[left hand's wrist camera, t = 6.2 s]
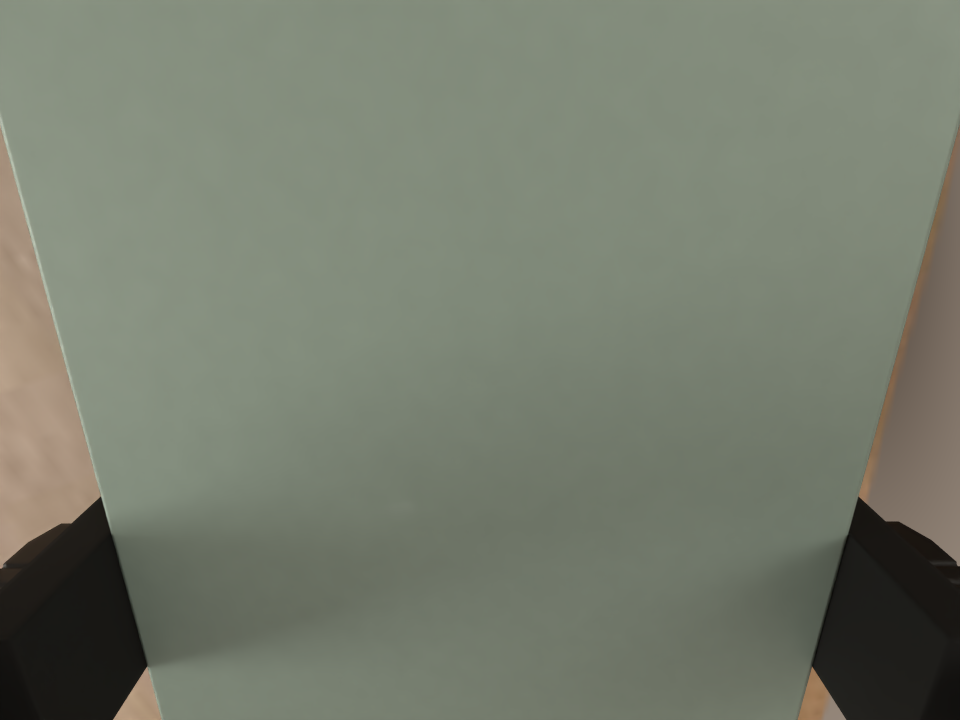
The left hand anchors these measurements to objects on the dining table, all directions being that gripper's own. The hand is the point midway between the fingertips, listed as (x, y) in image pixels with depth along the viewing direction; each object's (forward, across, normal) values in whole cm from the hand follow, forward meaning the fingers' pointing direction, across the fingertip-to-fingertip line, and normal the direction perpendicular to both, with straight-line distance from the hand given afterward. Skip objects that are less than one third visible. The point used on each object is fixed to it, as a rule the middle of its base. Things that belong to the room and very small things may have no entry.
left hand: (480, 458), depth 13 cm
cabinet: (+4, 0, -6) cm, 7 cm away
